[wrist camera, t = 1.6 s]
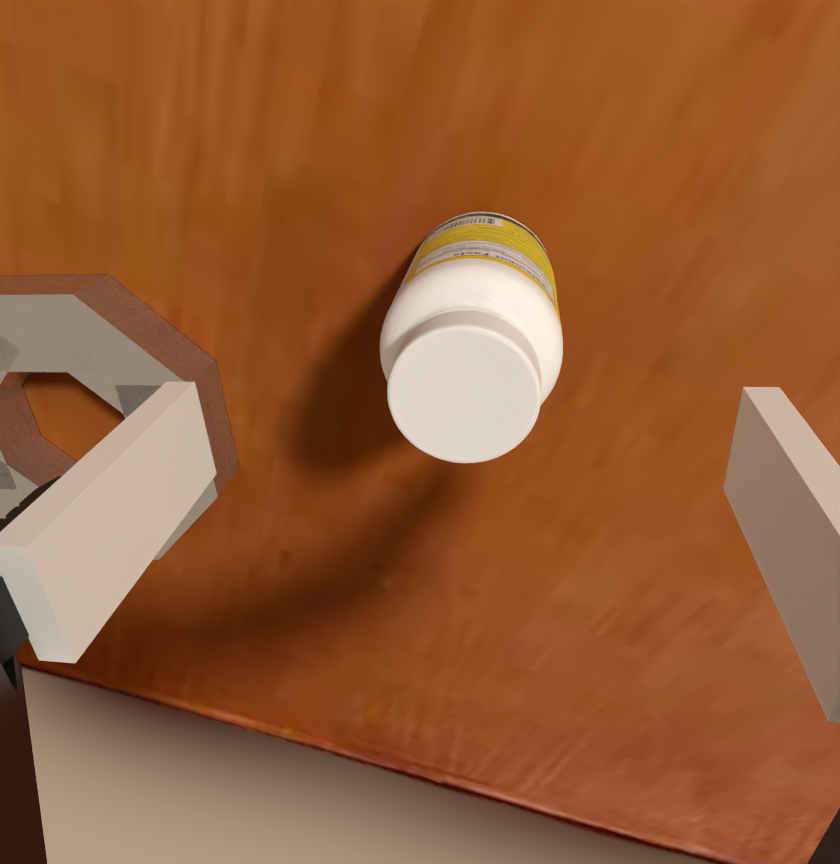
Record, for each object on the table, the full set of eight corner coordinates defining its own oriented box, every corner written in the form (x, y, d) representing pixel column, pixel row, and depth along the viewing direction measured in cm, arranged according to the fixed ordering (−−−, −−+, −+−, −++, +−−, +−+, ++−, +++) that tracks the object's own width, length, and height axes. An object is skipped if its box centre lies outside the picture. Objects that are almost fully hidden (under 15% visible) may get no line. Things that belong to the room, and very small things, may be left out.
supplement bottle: (495, 372, 27) (480, 519, 19) (385, 294, 26) (317, 413, 18) (585, 267, 25) (614, 384, 16) (467, 176, 24) (434, 251, 15)
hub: (-89, 277, 29) (-151, 301, 26) (195, 273, 27) (158, 298, 24) (18, 519, 35) (-23, 558, 33) (253, 530, 33) (229, 572, 31)
